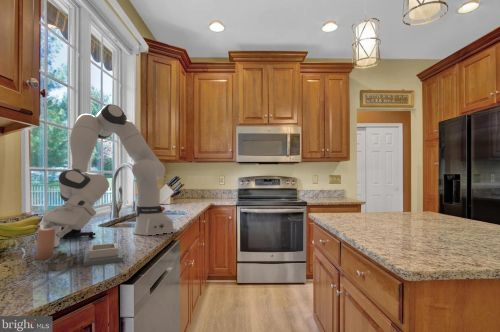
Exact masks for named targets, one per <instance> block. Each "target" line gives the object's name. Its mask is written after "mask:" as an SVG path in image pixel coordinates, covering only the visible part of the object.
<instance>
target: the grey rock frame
mask: <svg viewBox="0 0 500 332" xmlns="http://www.w3.org/2000/svg"><path fill="white" fill-rule="evenodd" d="M79 255H80V253H75V254H73V253H70V255H68V253H67V252H65V251H63V252H62V250H59V251H57V252H54V256H53V257H50V258H49V259H45V260H44V261H43V262H42V263H41V265H43V268H42V271H44V272H50V271H55V272H61V271H64V270H67V269H68V266H69V267H72V266H73V265H74V264H77V263H78V262H79V261H78V260H79V257H78V256H79Z"/></svg>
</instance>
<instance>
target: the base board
mask: <svg viewBox="0 0 500 332" xmlns="http://www.w3.org/2000/svg"><path fill="white" fill-rule="evenodd" d="M121 262H124V255H123V253H122V249H121V246H118V243H117V242H110V243H98V244H97V243H95V244H90V245H89V249H84V255H83V261H82V263H83V264H82V267H88V266H89V267H90V266H96V265H97V266H98V265H104V264H113V263H121Z"/></svg>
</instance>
